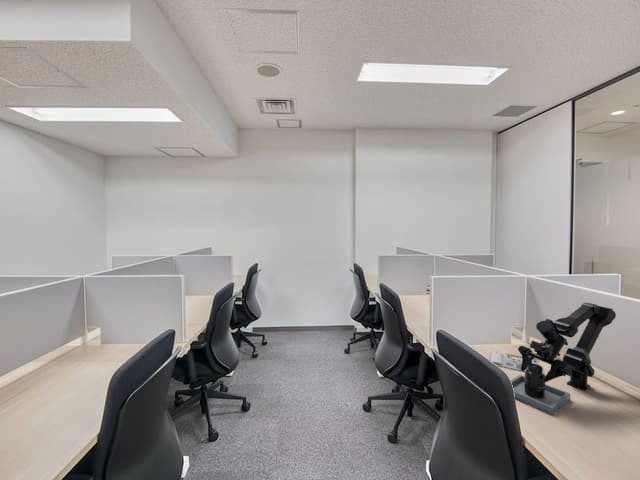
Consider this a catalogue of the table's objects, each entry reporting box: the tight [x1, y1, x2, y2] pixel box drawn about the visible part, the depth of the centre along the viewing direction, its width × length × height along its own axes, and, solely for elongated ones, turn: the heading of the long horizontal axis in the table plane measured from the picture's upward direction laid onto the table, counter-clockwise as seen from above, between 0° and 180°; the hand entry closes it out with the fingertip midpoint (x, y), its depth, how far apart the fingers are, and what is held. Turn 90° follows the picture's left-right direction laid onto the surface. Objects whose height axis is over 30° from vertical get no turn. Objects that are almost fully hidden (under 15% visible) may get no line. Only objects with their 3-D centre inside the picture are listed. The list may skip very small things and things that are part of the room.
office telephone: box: [488, 350, 546, 376], centre depth 149 cm, size 23×3×20 cm
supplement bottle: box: [524, 363, 546, 398], centre depth 118 cm, size 7×7×12 cm
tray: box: [510, 374, 571, 416], centre depth 118 cm, size 18×18×3 cm
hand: (532, 375), depth 118 cm, fingers open, 9 cm apart
